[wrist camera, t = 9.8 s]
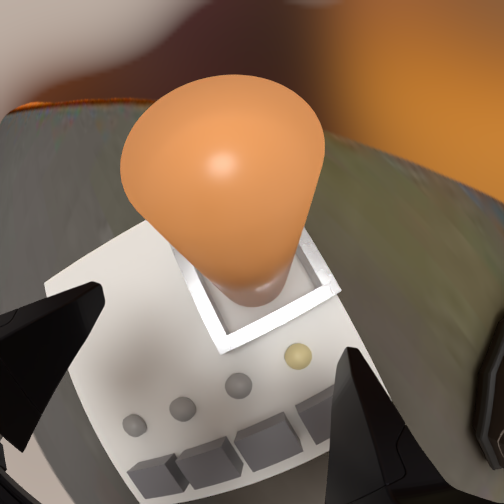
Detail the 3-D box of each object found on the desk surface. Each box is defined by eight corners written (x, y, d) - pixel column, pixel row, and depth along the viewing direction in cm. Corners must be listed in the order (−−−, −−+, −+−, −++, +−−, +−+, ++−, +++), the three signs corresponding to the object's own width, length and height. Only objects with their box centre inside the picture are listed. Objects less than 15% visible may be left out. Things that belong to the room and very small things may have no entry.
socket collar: (333, 295, 17) (341, 290, 15) (225, 352, 17) (220, 355, 15) (276, 198, 19) (277, 184, 17) (176, 248, 19) (167, 238, 17)
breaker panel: (389, 405, 16) (408, 416, 13) (149, 501, 14) (133, 519, 11) (257, 173, 21) (256, 148, 18) (52, 285, 20) (28, 277, 17)
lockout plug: (293, 300, 17) (353, 215, 5) (223, 312, 17) (116, 257, 5) (279, 234, 19) (294, 66, 6) (213, 245, 19) (129, 98, 6)
